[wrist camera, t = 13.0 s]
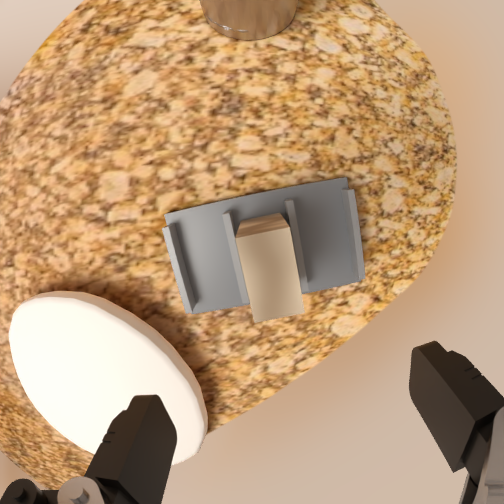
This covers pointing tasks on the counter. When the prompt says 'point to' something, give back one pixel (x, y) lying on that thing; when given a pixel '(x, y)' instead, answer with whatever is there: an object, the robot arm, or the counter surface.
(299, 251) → the rack
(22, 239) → the counter surface
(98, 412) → the plate
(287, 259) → the block
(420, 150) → the counter surface
